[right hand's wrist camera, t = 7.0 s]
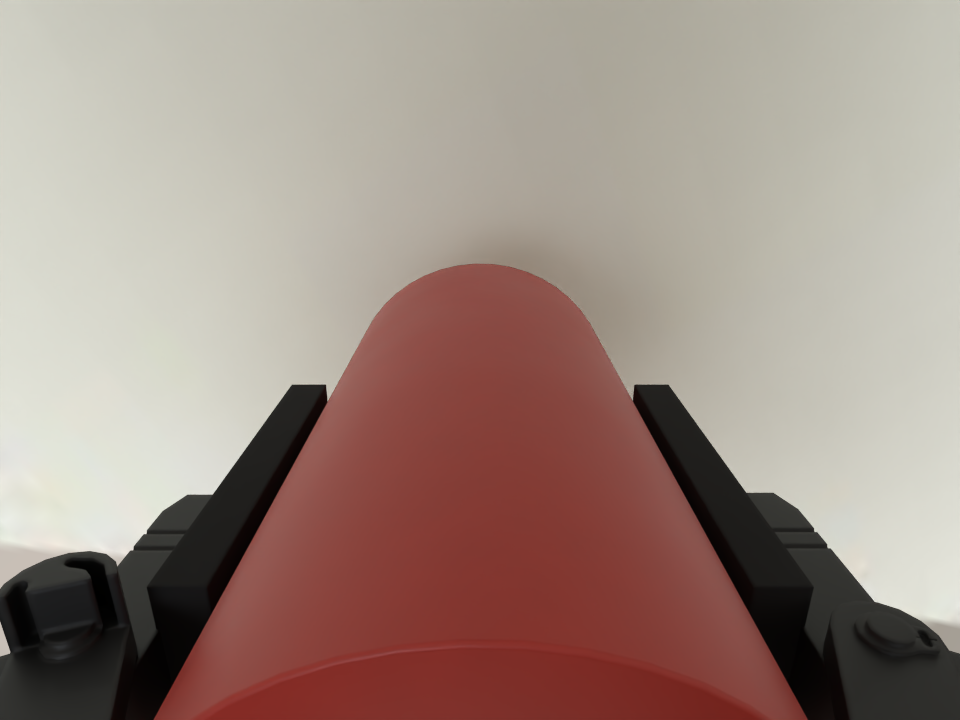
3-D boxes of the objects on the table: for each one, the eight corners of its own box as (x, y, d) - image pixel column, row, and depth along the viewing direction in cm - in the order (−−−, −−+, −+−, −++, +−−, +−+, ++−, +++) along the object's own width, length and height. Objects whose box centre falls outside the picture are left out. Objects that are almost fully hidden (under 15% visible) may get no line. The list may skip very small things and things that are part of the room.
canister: (472, 206, 16) (450, 463, 4) (656, 380, 17) (1038, 934, 5) (305, 392, 17) (-65, 960, 6) (486, 534, 19) (496, 1203, 7)
